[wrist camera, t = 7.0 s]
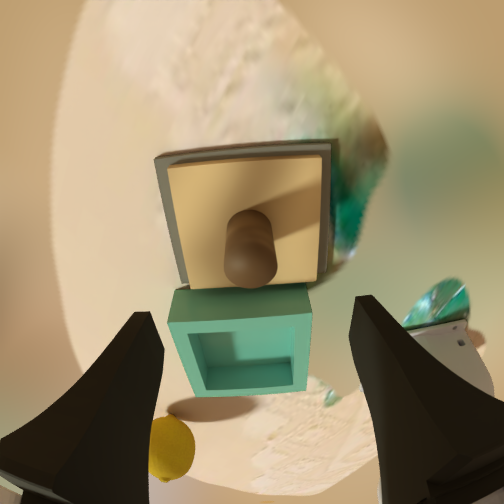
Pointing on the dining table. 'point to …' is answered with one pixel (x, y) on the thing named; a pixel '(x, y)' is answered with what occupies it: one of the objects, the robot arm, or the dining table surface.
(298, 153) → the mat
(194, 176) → the lid
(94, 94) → the dining table surface
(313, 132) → the dining table surface
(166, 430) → the lemon
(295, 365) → the dish
